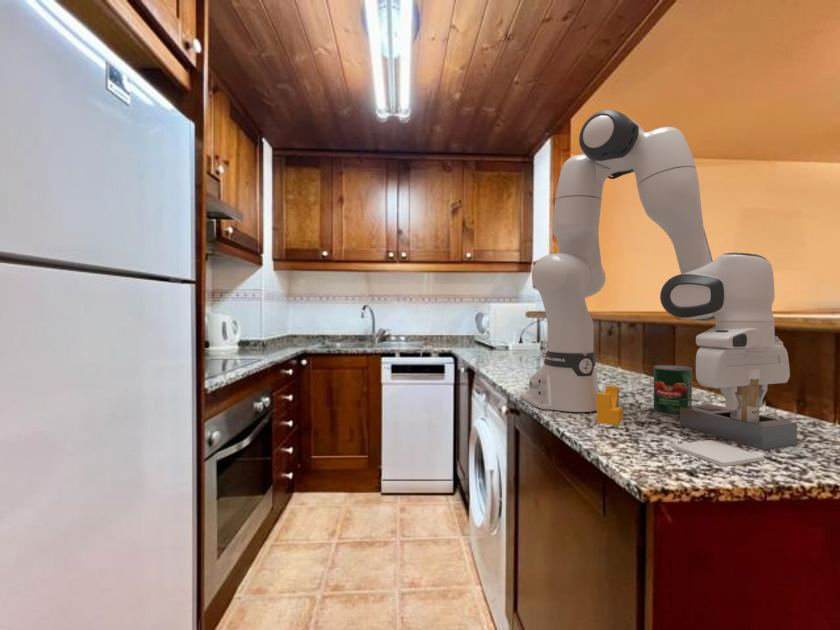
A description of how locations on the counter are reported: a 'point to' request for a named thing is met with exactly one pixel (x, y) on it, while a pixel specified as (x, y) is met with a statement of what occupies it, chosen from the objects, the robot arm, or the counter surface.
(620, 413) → the orange stepped block
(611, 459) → the counter surface
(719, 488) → the counter surface
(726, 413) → the grey open box
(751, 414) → the sprinkles bottle
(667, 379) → the canned tomato
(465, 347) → the counter surface
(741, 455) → the plate
